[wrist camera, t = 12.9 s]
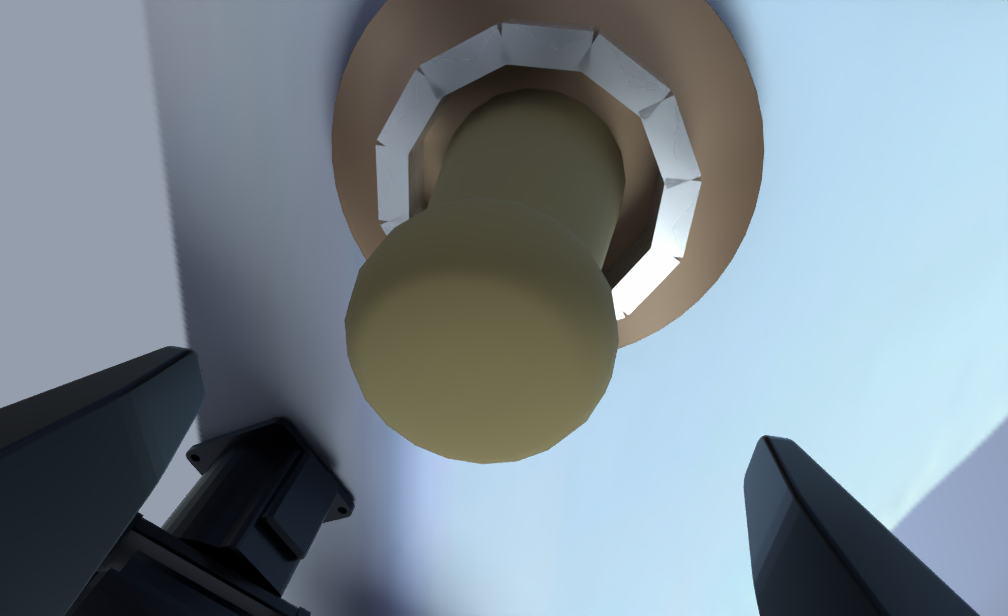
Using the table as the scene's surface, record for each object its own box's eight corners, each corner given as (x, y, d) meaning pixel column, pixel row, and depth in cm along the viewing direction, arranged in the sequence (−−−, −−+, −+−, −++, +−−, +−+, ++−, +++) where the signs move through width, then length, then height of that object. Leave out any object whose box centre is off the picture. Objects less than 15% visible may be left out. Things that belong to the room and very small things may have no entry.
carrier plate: (459, 382, 25) (452, 399, 24) (267, 67, 20) (249, 72, 19) (801, 273, 21) (811, 289, 20) (674, -176, 15) (679, -186, 14)
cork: (411, 130, 19) (224, 287, 10) (590, 55, 17) (573, 159, 8) (485, 287, 22) (394, 534, 12) (649, 237, 20) (689, 481, 10)
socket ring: (475, 341, 23) (465, 368, 21) (340, 107, 19) (317, 120, 18) (726, 256, 20) (736, 281, 18) (624, -45, 16) (627, -46, 14)
